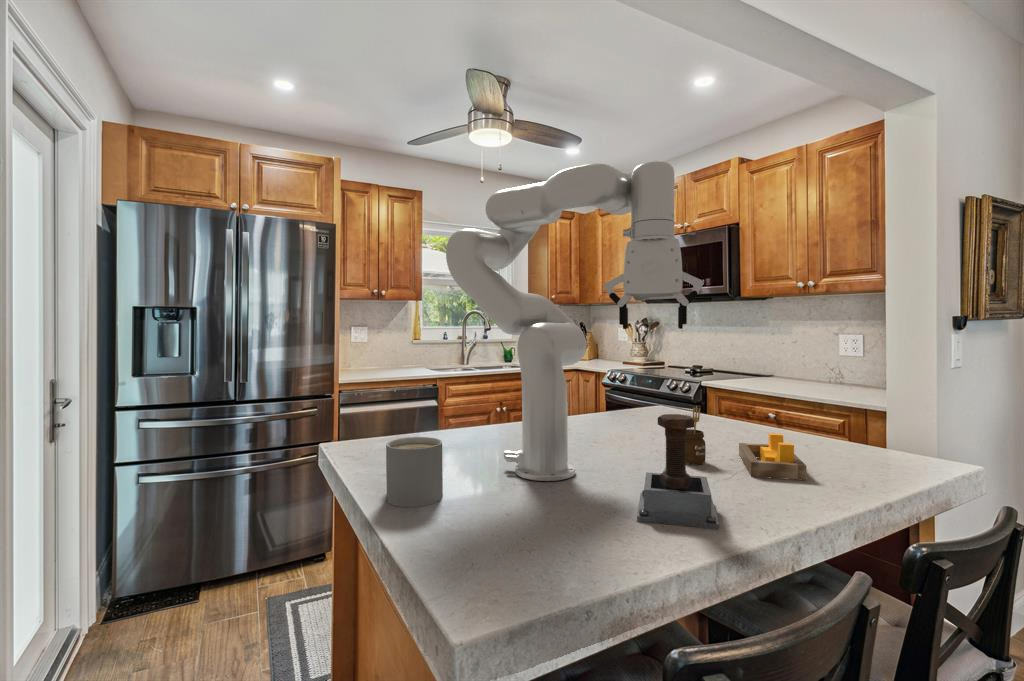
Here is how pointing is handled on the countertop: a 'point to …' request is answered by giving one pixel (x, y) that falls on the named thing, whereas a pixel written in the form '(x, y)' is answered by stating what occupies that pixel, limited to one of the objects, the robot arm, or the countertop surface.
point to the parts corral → (770, 464)
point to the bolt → (675, 451)
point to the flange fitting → (677, 504)
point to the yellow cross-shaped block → (777, 450)
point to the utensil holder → (695, 444)
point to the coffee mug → (414, 471)
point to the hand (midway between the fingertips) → (652, 328)
